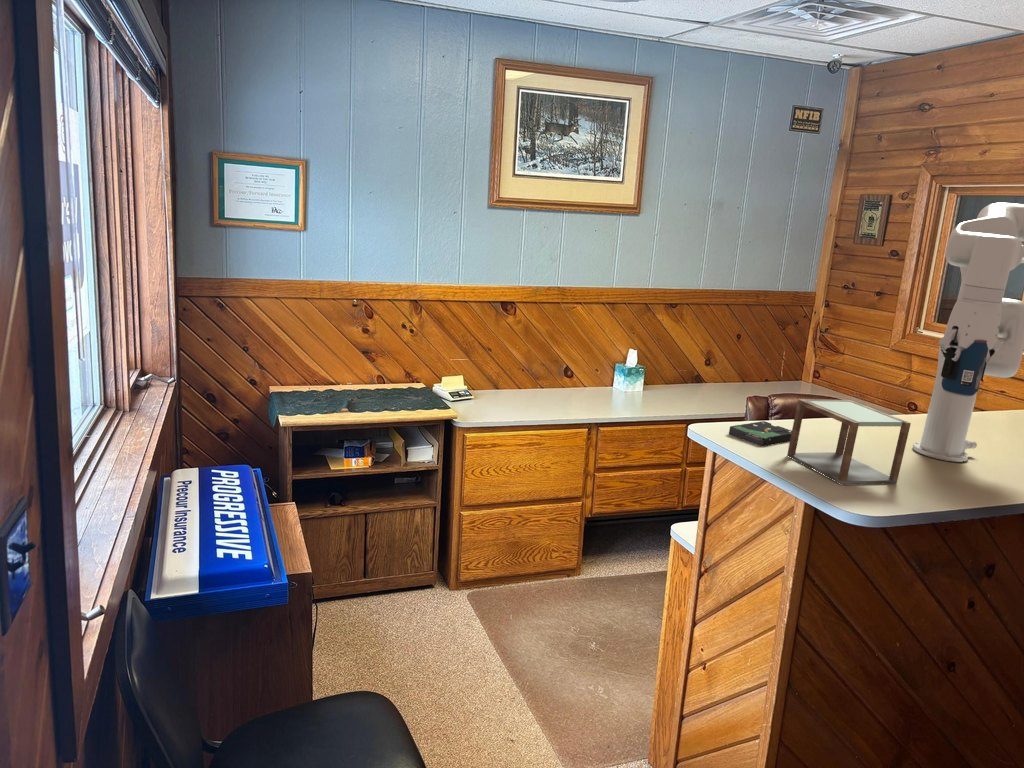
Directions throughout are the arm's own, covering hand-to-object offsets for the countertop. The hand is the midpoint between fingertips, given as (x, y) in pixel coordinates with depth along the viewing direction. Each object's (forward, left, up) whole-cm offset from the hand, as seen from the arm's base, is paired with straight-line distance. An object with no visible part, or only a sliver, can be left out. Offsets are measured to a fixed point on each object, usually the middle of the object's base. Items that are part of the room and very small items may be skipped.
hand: (961, 377), depth 162 cm
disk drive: (+20, -35, -26) cm, 48 cm away
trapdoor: (+16, -11, -12) cm, 23 cm away
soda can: (0, 0, -4) cm, 4 cm away
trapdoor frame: (+16, -12, -25) cm, 32 cm away
